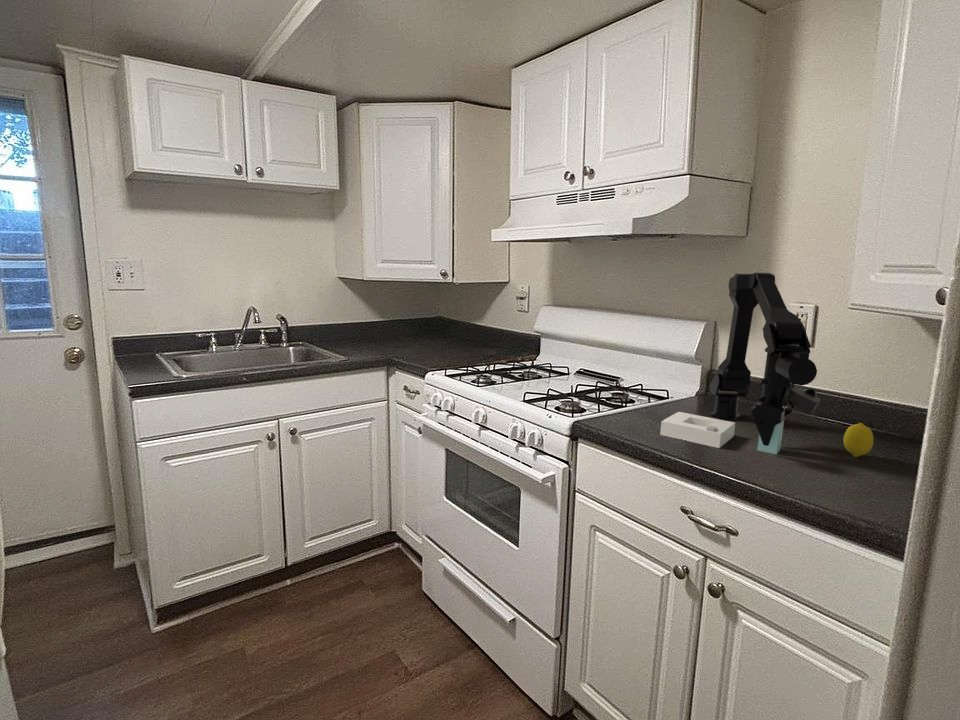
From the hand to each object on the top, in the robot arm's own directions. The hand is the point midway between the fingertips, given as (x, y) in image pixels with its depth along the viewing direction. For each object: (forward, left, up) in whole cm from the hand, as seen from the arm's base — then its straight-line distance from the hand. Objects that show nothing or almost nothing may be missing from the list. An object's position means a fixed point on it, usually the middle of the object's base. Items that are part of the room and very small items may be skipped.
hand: (769, 441), depth 128 cm
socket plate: (+1, -16, -2) cm, 16 cm away
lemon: (-9, +16, -2) cm, 19 cm away
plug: (0, 0, -2) cm, 2 cm away
